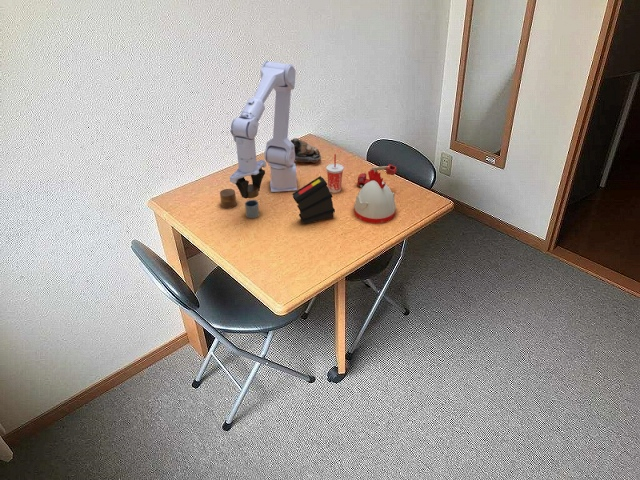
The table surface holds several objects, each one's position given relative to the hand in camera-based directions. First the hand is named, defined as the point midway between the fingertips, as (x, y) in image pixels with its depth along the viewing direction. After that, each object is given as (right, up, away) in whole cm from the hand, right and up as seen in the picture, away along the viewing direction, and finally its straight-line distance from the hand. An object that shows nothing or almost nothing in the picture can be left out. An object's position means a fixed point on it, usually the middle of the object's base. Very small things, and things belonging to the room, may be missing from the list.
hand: (250, 193), depth 159 cm
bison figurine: (+43, +43, +27) cm, 67 cm away
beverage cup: (+28, +3, +18) cm, 34 cm away
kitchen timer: (+41, -6, +6) cm, 42 cm away
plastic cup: (0, -7, +5) cm, 8 cm away
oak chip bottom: (-9, -3, +10) cm, 14 cm away
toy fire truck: (+43, +4, +19) cm, 47 cm away
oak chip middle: (-9, -1, +9) cm, 13 cm away
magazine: (+21, -9, +2) cm, 22 cm away
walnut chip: (0, 0, 0) cm, 0 cm away
